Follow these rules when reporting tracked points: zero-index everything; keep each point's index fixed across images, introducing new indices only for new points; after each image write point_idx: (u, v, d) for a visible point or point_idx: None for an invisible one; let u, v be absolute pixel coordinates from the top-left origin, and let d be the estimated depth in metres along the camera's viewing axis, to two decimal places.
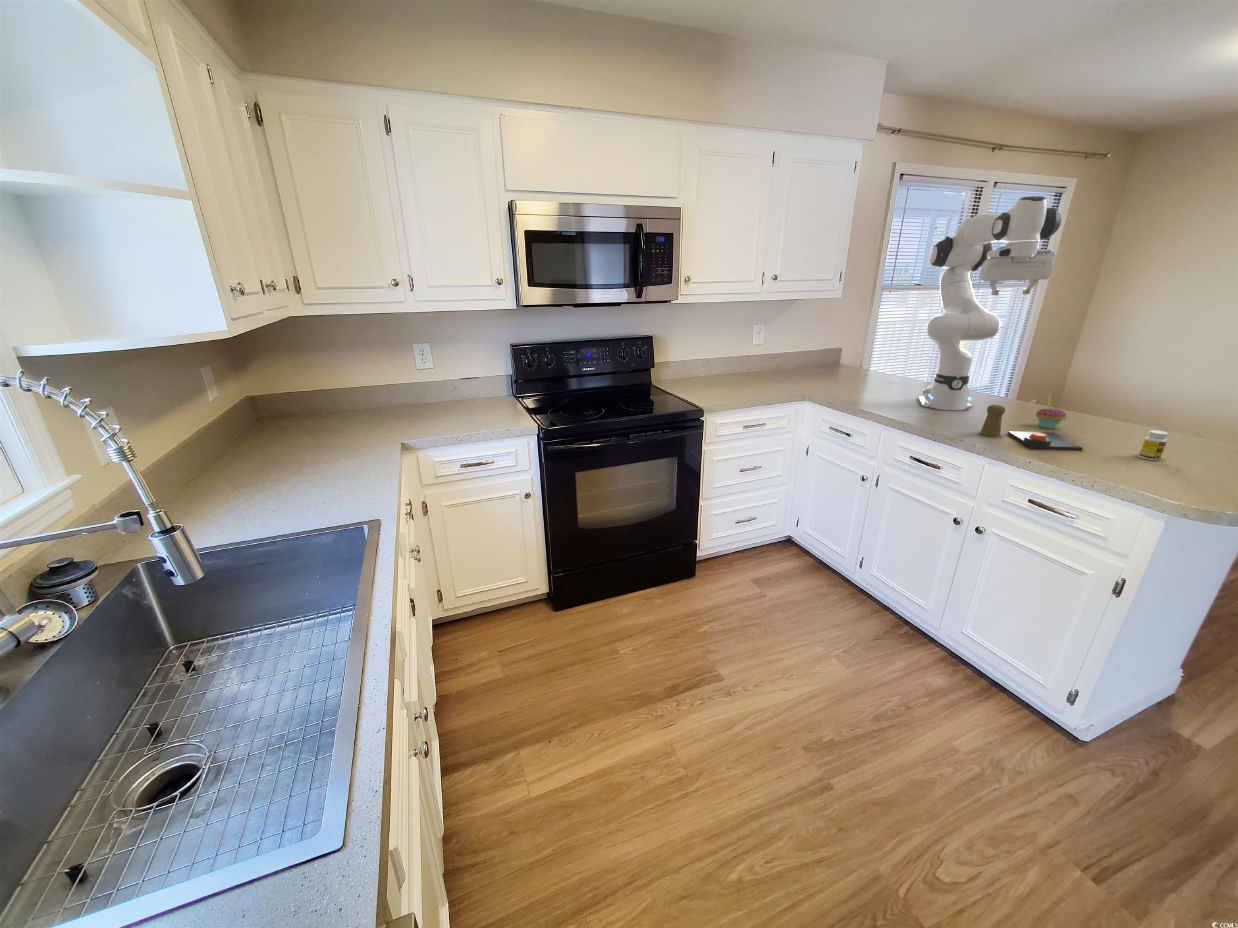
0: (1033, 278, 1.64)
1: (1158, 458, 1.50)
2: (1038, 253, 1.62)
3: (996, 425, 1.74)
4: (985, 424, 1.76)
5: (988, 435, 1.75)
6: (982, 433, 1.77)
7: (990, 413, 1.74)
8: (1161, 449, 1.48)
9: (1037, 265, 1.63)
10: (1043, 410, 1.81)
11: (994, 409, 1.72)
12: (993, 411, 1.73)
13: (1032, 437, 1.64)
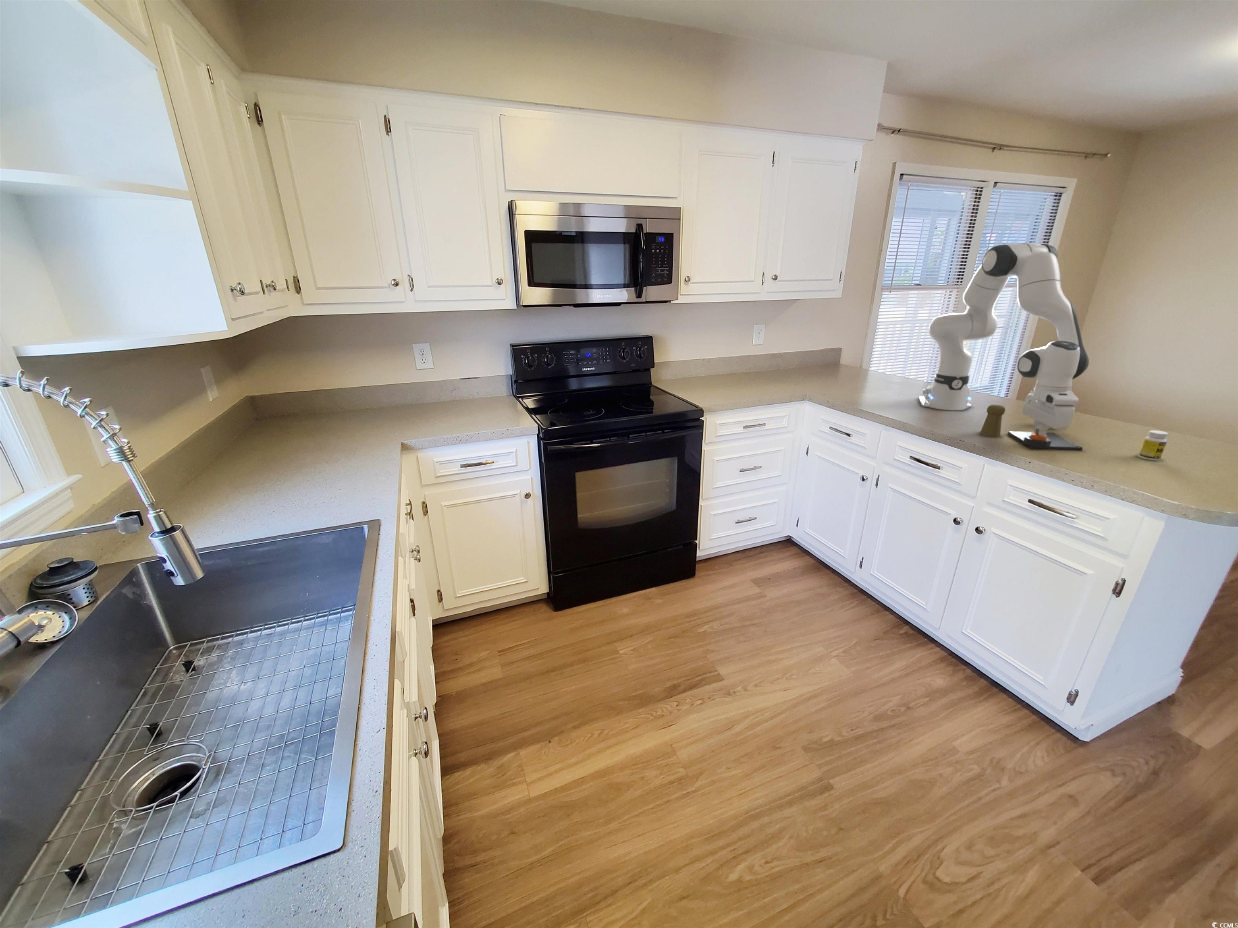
0: None
1: (1158, 458, 1.50)
2: None
3: (996, 425, 1.74)
4: (985, 424, 1.76)
5: (988, 435, 1.75)
6: (982, 433, 1.77)
7: (990, 413, 1.74)
8: (1161, 449, 1.48)
9: None
10: None
11: (994, 409, 1.72)
12: (993, 411, 1.73)
13: (1032, 438, 1.64)
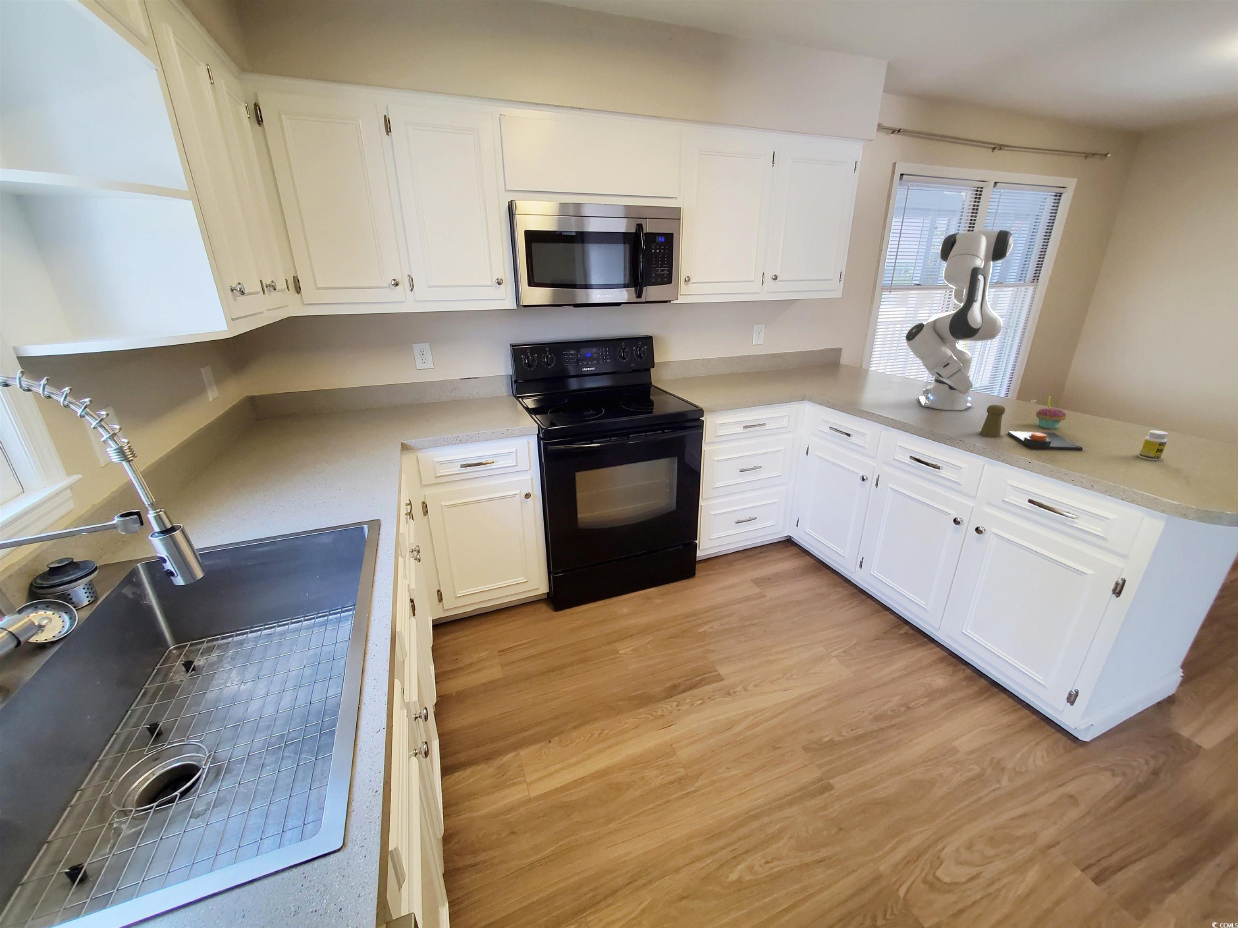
0: None
1: (1158, 458, 1.50)
2: None
3: (996, 425, 1.74)
4: (985, 424, 1.76)
5: (988, 435, 1.75)
6: (982, 433, 1.77)
7: (990, 413, 1.74)
8: (1161, 449, 1.48)
9: None
10: (1043, 410, 1.81)
11: (994, 409, 1.72)
12: (993, 411, 1.73)
13: (1032, 437, 1.64)
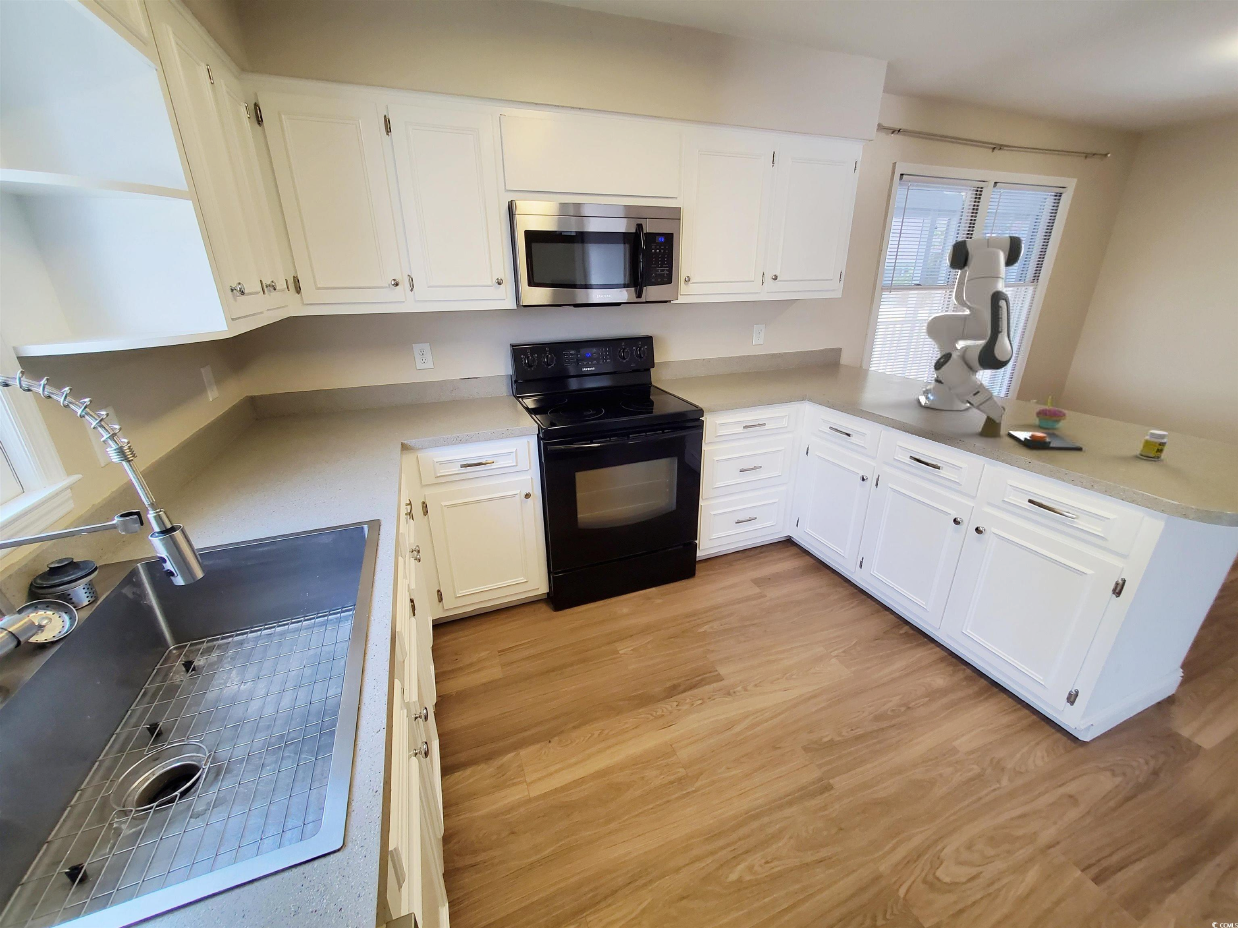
0: None
1: (1158, 458, 1.50)
2: None
3: (996, 425, 1.74)
4: (985, 424, 1.76)
5: (988, 435, 1.75)
6: (982, 433, 1.77)
7: None
8: (1161, 449, 1.48)
9: None
10: (1043, 410, 1.81)
11: None
12: None
13: (1032, 437, 1.64)
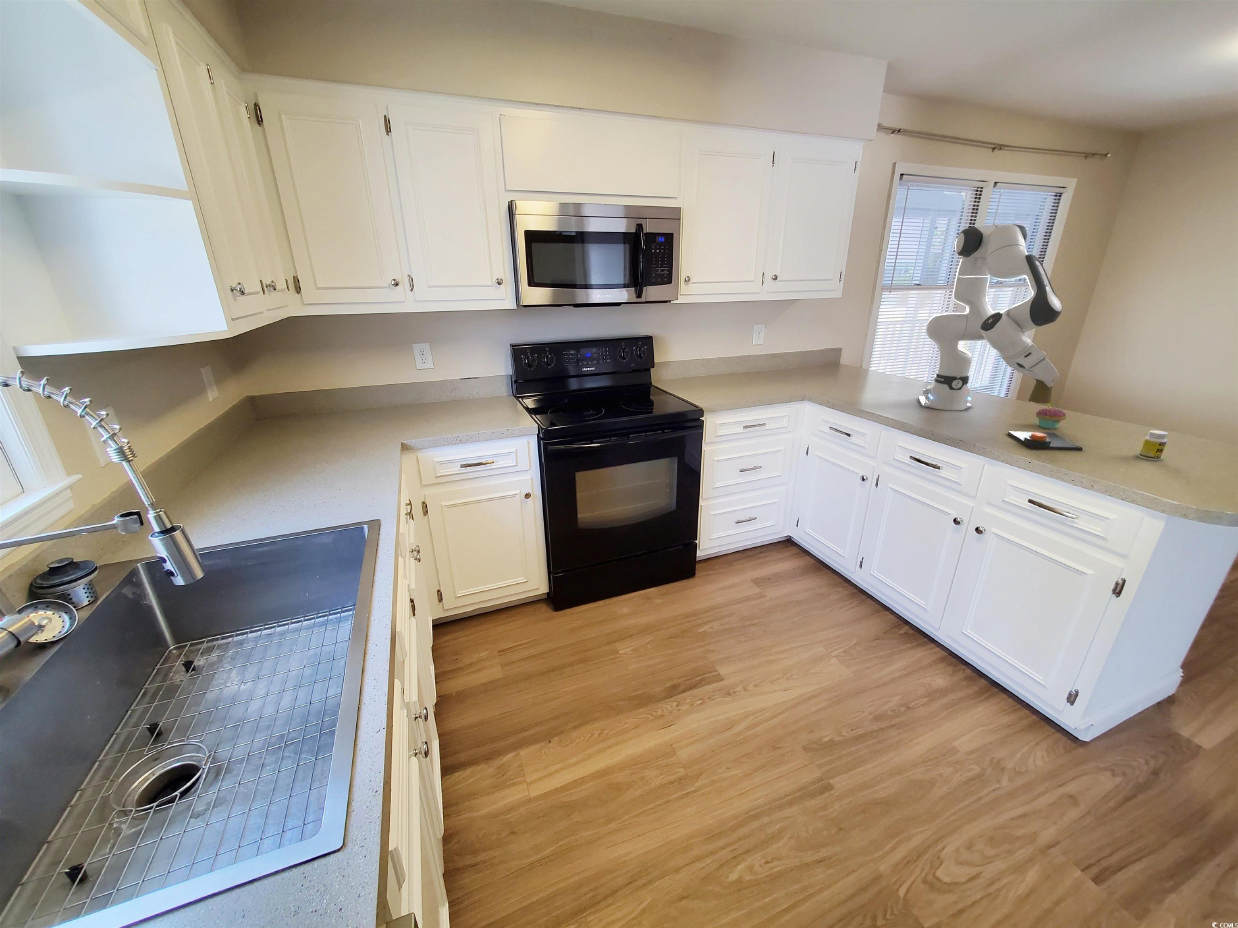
0: None
1: (1158, 458, 1.50)
2: None
3: (1047, 389, 1.64)
4: (1034, 390, 1.66)
5: (1038, 401, 1.66)
6: (1031, 399, 1.67)
7: None
8: (1161, 449, 1.48)
9: None
10: (1043, 410, 1.81)
11: None
12: None
13: (1032, 437, 1.64)
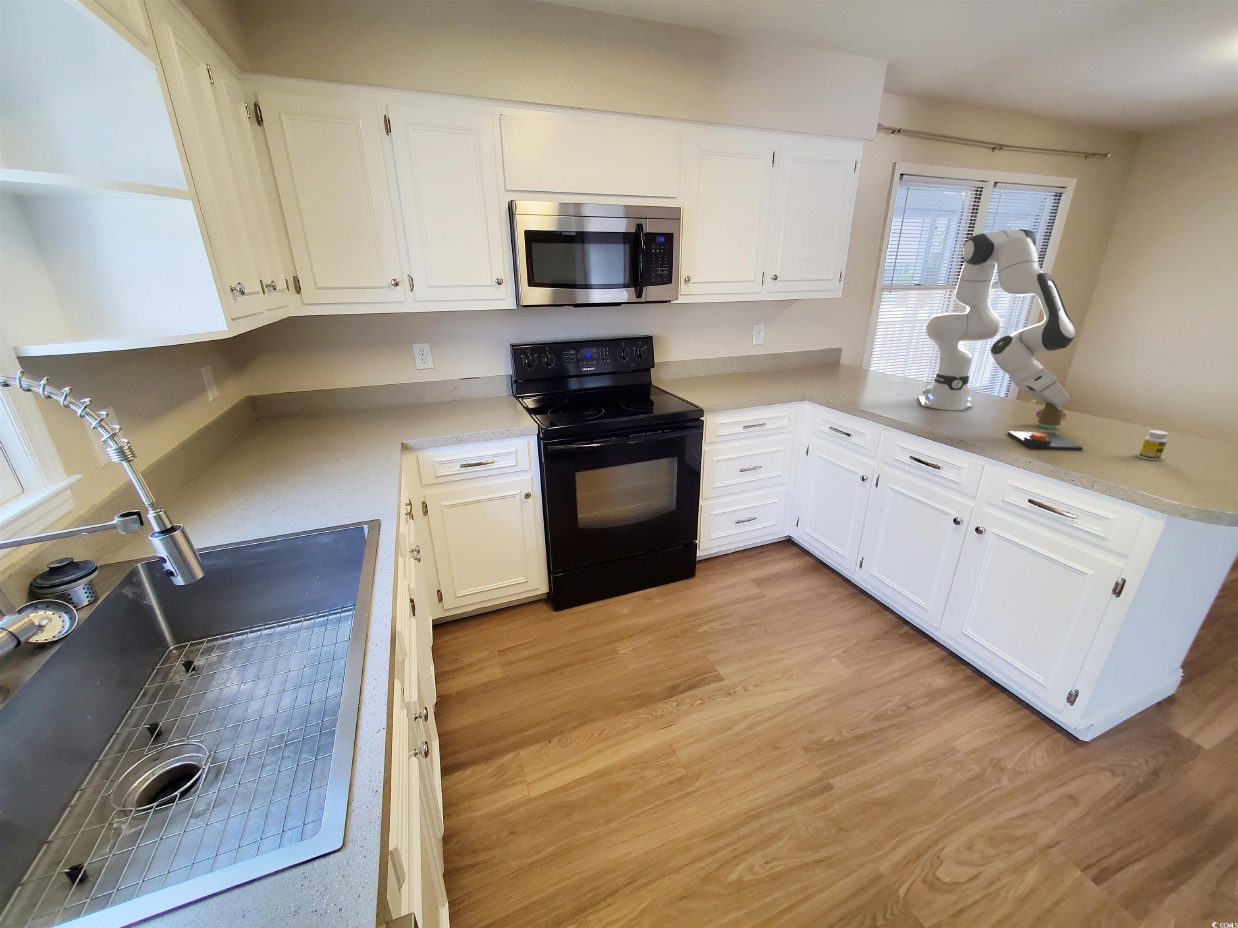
0: None
1: (1158, 458, 1.50)
2: None
3: (1057, 412, 1.65)
4: (1044, 412, 1.67)
5: (1048, 423, 1.66)
6: (1041, 421, 1.68)
7: None
8: (1161, 449, 1.48)
9: None
10: None
11: None
12: None
13: (1032, 437, 1.64)
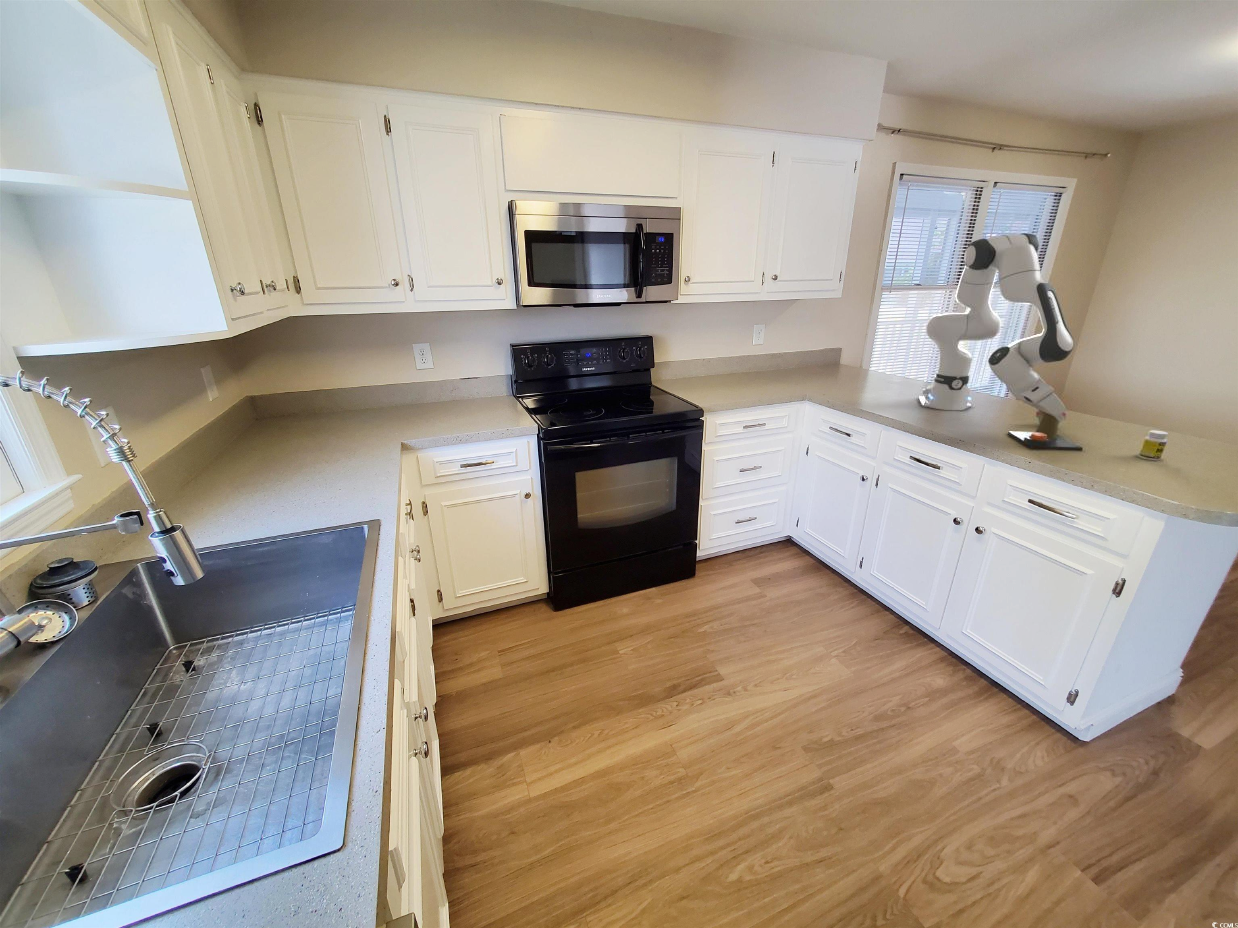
0: None
1: (1158, 458, 1.50)
2: None
3: (1053, 426, 1.66)
4: (1040, 425, 1.69)
5: None
6: None
7: (1047, 414, 1.67)
8: (1161, 449, 1.48)
9: None
10: None
11: None
12: None
13: (1032, 437, 1.64)
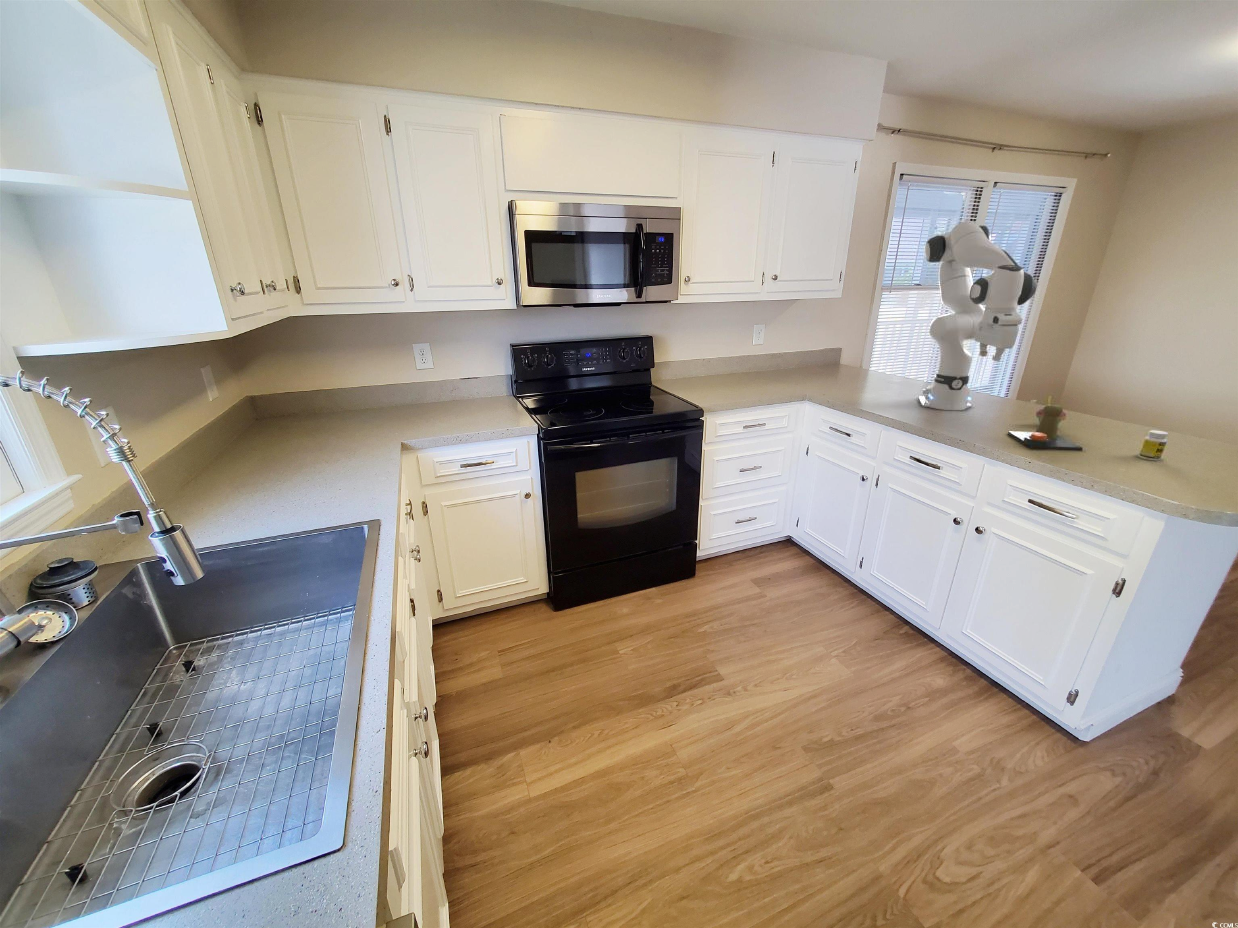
0: None
1: (1158, 458, 1.50)
2: None
3: (1053, 426, 1.66)
4: (1040, 425, 1.69)
5: None
6: None
7: (1047, 414, 1.67)
8: (1161, 449, 1.48)
9: None
10: None
11: (1051, 409, 1.65)
12: (1050, 412, 1.65)
13: (1032, 437, 1.64)
